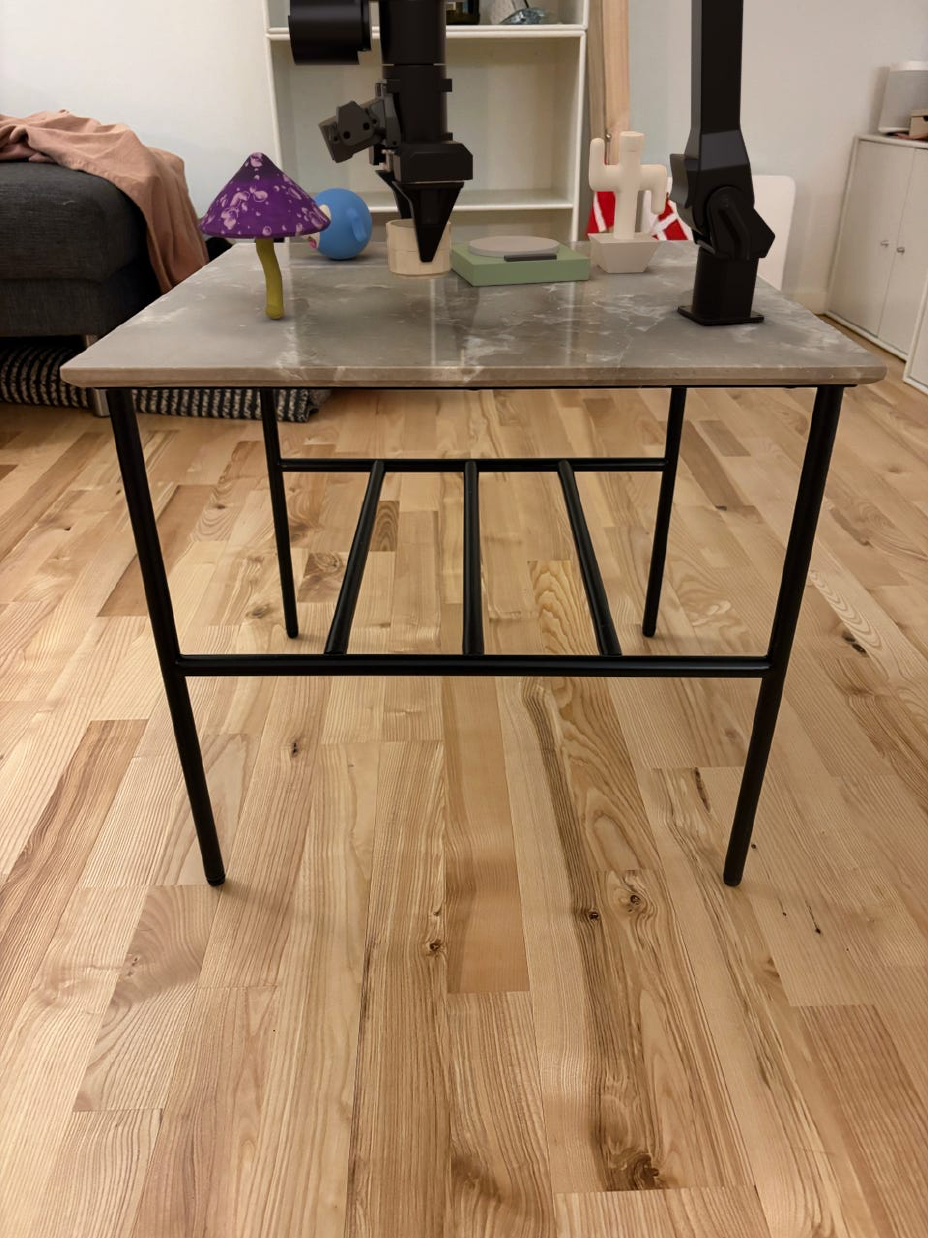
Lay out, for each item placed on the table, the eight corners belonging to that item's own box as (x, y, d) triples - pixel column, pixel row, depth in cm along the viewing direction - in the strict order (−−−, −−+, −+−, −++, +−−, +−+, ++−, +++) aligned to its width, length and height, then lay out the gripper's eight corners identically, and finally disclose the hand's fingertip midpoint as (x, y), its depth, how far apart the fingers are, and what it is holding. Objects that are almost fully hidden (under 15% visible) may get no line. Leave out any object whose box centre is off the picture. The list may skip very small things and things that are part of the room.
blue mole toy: (266, 260, 120) (258, 189, 116) (341, 249, 127) (336, 182, 123) (317, 272, 113) (311, 197, 108) (394, 260, 119) (391, 189, 115)
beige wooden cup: (457, 278, 87) (457, 225, 84) (394, 281, 85) (392, 228, 83) (443, 266, 92) (442, 216, 89) (384, 270, 90) (381, 219, 88)
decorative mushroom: (204, 311, 95) (180, 149, 88) (322, 300, 99) (309, 144, 91) (221, 339, 85) (195, 159, 78) (352, 327, 89) (340, 154, 81)
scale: (589, 279, 108) (591, 250, 106) (473, 286, 105) (473, 256, 103) (551, 259, 120) (552, 232, 118) (446, 264, 117) (446, 237, 115)
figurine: (667, 273, 111) (681, 132, 103) (590, 276, 110) (598, 134, 102) (650, 262, 117) (662, 129, 109) (577, 264, 116) (584, 130, 108)
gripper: (310, 65, 86) (324, 244, 94) (333, 65, 70) (348, 279, 78) (427, 64, 88) (431, 239, 96) (474, 64, 72) (474, 272, 81)
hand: (419, 255), depth 88 cm, fingers closed on beige wooden cup, 6 cm apart
